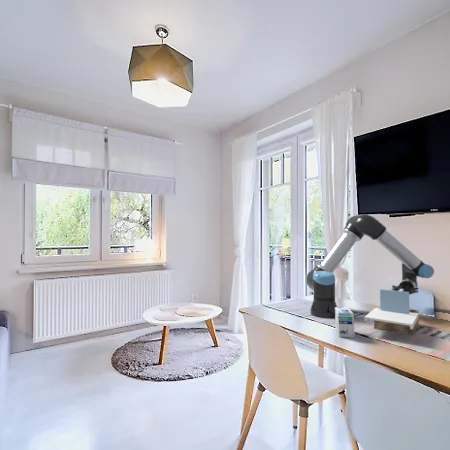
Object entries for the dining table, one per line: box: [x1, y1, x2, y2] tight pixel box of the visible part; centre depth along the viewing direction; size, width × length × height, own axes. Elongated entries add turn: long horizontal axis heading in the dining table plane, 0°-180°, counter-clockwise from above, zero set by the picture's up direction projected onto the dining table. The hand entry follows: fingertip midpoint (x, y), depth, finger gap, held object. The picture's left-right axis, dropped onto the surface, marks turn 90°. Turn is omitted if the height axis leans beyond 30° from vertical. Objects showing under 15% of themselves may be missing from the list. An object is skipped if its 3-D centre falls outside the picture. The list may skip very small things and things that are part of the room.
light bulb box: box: [334, 306, 355, 339], centre depth 140 cm, size 11×7×11 cm, turn 168°
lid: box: [364, 288, 419, 329], centre depth 140 cm, size 18×21×12 cm
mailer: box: [373, 308, 420, 336], centre depth 150 cm, size 16×20×7 cm
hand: (400, 293), depth 159 cm, fingers closed
